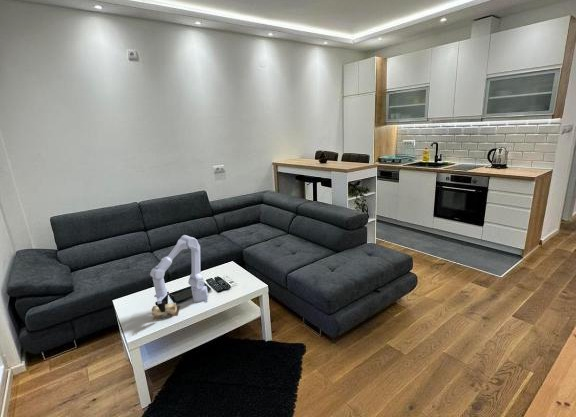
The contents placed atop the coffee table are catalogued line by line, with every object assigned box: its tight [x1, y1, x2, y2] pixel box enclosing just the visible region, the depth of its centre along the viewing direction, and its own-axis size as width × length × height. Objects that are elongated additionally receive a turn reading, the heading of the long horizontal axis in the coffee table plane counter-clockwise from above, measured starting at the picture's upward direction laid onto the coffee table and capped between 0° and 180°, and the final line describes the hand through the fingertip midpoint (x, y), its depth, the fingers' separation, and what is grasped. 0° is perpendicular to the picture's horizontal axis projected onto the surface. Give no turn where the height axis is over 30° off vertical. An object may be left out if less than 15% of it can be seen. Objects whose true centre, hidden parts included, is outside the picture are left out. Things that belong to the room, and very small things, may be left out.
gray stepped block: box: [161, 313, 171, 319], centre depth 181 cm, size 5×4×2 cm
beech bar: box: [151, 302, 178, 317], centre depth 180 cm, size 13×4×4 cm, turn 100°
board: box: [152, 305, 181, 321], centre depth 185 cm, size 14×11×1 cm
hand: (164, 308), depth 180 cm, fingers open, 7 cm apart
